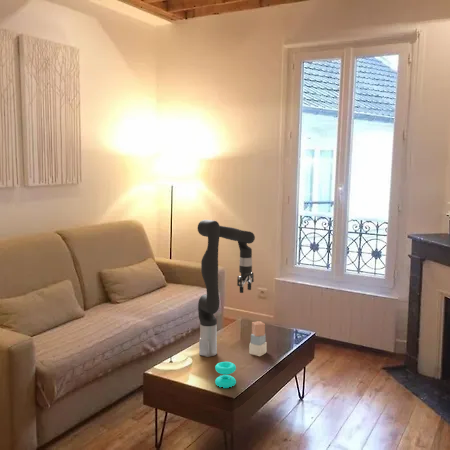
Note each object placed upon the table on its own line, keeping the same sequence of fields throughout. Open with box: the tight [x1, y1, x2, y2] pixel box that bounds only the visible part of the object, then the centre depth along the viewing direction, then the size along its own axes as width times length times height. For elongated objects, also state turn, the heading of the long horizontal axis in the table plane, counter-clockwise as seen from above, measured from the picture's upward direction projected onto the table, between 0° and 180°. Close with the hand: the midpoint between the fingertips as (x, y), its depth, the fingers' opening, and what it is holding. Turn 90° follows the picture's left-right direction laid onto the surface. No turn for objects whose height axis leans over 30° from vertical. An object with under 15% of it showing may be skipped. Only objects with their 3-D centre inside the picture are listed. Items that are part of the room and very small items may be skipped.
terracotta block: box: [251, 320, 266, 336], centre depth 274 cm, size 6×6×6 cm
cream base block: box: [248, 341, 268, 357], centre depth 275 cm, size 7×7×6 cm
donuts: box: [214, 361, 237, 389], centre depth 235 cm, size 10×10×10 cm
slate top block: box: [250, 333, 267, 346], centre depth 274 cm, size 6×6×5 cm
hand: (245, 291), depth 292 cm, fingers open, 8 cm apart
